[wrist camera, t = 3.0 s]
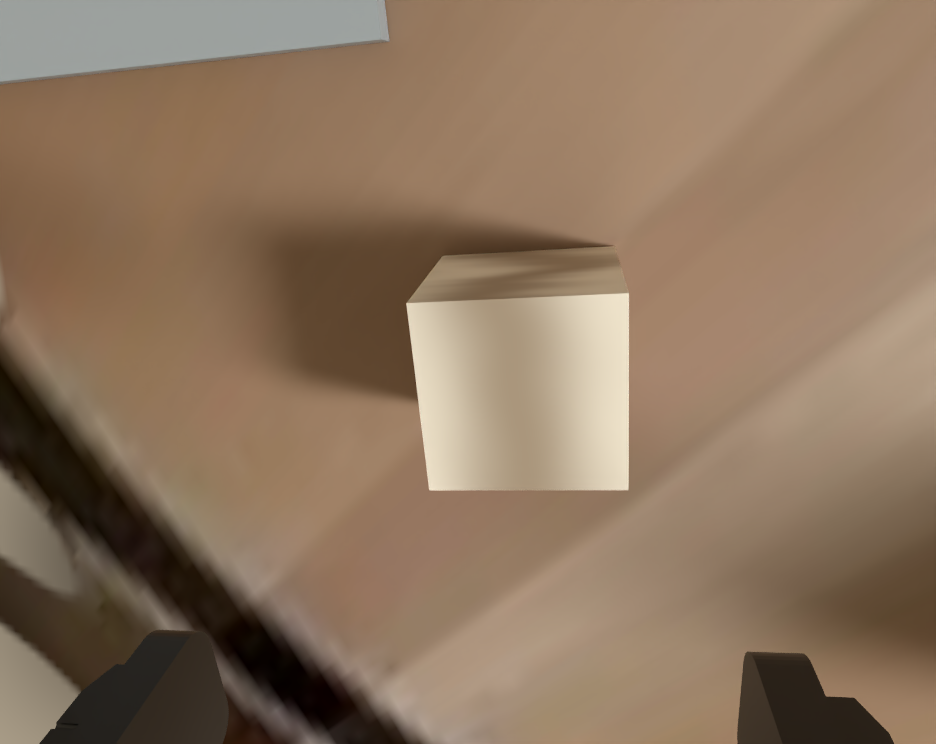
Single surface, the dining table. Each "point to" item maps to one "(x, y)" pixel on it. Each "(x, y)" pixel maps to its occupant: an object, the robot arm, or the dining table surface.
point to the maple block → (524, 370)
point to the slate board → (171, 32)
